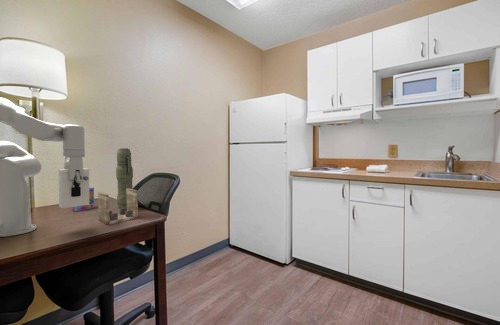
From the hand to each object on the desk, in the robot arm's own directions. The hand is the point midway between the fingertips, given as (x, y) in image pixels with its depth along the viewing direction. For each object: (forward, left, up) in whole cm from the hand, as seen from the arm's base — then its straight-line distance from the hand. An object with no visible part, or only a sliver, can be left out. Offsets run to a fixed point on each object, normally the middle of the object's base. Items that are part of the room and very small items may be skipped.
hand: (74, 195), depth 103 cm
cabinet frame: (+18, -1, -15) cm, 23 cm away
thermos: (+30, +22, -15) cm, 41 cm away
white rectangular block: (0, 0, -5) cm, 5 cm away
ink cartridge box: (+13, +37, -15) cm, 41 cm away
